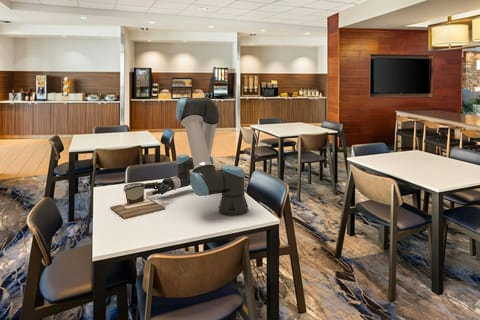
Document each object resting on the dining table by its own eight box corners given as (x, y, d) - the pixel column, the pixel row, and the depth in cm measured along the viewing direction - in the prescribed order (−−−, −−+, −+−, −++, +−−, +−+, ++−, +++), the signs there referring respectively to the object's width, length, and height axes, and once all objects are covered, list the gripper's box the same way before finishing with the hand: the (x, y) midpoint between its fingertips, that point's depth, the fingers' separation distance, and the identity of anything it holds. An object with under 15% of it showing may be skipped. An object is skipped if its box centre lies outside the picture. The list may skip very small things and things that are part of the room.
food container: (140, 198, 204) (138, 181, 202) (146, 200, 200) (145, 183, 198) (120, 203, 195) (118, 185, 193) (126, 206, 191) (124, 187, 189)
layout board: (165, 209, 189) (165, 206, 189) (124, 219, 176) (123, 216, 175) (149, 200, 204) (149, 197, 204) (110, 208, 191) (110, 206, 191)
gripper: (185, 194, 203) (153, 203, 188) (158, 186, 219) (127, 194, 204) (184, 181, 201) (152, 189, 186) (157, 174, 218) (126, 181, 202)
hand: (139, 192), depth 195 cm, fingers open, 13 cm apart
